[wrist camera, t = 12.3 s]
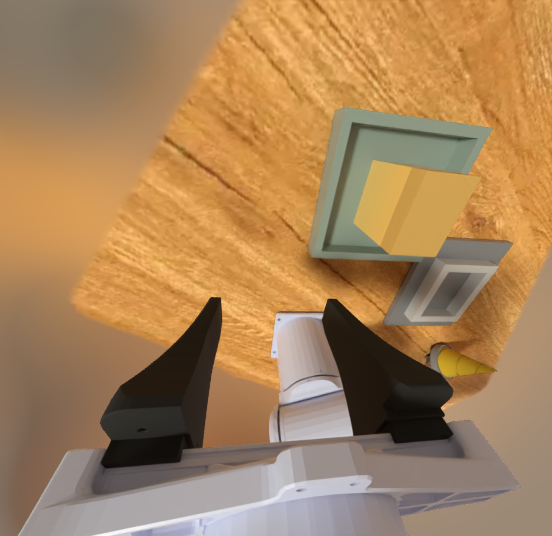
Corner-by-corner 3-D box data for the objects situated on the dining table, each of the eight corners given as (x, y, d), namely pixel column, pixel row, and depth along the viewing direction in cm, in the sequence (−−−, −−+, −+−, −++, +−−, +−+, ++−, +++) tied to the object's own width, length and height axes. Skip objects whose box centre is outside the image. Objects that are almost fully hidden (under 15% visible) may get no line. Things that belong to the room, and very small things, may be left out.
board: (447, 321, 33) (459, 333, 31) (382, 321, 32) (391, 333, 30) (506, 240, 26) (527, 249, 24) (426, 235, 24) (441, 244, 22)
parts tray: (408, 253, 25) (421, 262, 23) (307, 248, 24) (312, 257, 22) (469, 128, 19) (492, 128, 17) (335, 110, 17) (345, 107, 15)
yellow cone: (409, 349, 37) (481, 360, 28) (426, 337, 39) (497, 344, 30) (420, 379, 37) (496, 400, 28) (436, 365, 39) (511, 380, 30)
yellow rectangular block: (387, 225, 23) (435, 257, 17) (353, 223, 22) (389, 254, 16) (412, 164, 20) (482, 176, 14) (373, 159, 19) (427, 170, 13)
